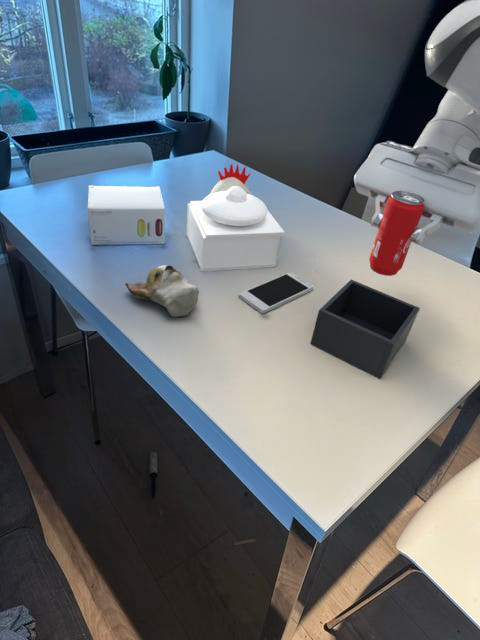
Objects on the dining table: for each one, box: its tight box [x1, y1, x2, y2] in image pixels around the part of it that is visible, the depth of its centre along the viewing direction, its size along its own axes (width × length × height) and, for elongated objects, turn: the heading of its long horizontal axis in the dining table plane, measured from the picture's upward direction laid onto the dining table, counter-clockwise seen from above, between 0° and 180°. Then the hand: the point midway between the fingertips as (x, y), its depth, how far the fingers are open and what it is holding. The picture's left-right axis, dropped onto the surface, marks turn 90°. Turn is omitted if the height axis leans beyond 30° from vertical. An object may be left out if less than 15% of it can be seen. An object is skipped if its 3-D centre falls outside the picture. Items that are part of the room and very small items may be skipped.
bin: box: [310, 279, 421, 380], centre depth 81 cm, size 14×14×8 cm
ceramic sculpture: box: [124, 264, 200, 318], centre depth 85 cm, size 11×9×15 cm
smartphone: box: [239, 271, 315, 314], centre depth 93 cm, size 7×16×1 cm, turn 132°
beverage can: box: [368, 191, 425, 277], centre depth 68 cm, size 5×5×12 cm
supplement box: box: [87, 184, 166, 246], centre depth 106 cm, size 17×13×9 cm
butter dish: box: [186, 187, 285, 272], centre depth 102 cm, size 18×18×16 cm
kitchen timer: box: [209, 163, 253, 195], centre depth 115 cm, size 14×14×15 cm
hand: (394, 233), depth 67 cm, fingers closed on beverage can, 5 cm apart
